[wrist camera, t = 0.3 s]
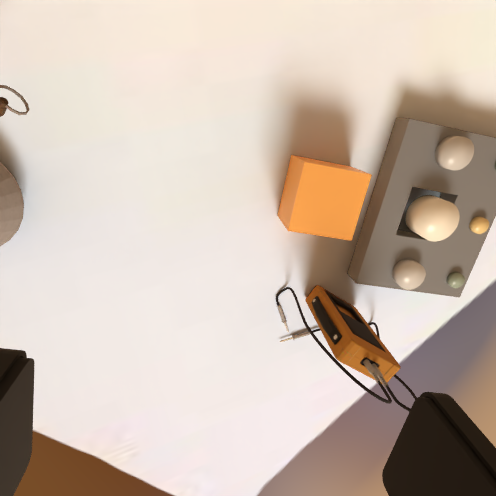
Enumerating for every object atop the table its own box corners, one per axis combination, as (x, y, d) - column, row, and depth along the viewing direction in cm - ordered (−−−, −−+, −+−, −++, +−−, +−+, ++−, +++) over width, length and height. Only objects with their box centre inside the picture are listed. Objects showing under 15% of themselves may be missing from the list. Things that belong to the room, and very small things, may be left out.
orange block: (291, 154, 42) (304, 161, 37) (350, 166, 44) (371, 174, 38) (277, 215, 45) (287, 230, 39) (333, 224, 46) (351, 240, 40)
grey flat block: (396, 117, 42) (417, 119, 38) (506, 142, 45) (537, 146, 41) (347, 273, 49) (360, 288, 45) (445, 287, 51) (467, 302, 47)
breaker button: (413, 191, 43) (428, 197, 40) (449, 198, 44) (466, 204, 41) (400, 230, 44) (413, 238, 42) (434, 235, 45) (450, 244, 42)
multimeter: (251, 326, 50) (280, 454, 32) (294, 269, 48) (351, 372, 29) (332, 368, 54) (399, 502, 36) (375, 318, 52) (470, 434, 33)
